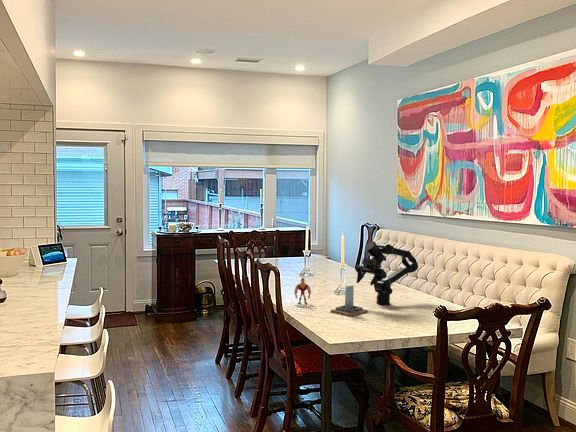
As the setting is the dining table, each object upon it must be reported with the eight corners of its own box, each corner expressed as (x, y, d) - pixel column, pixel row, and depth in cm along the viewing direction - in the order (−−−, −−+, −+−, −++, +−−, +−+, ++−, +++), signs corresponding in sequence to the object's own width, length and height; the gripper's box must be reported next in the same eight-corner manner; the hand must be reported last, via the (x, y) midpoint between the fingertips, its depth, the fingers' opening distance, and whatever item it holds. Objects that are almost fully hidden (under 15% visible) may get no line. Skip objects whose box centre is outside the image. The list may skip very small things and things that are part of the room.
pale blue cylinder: (354, 309, 305) (354, 285, 304) (352, 311, 301) (352, 286, 300) (345, 308, 306) (346, 284, 305) (344, 310, 302) (344, 286, 301)
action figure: (294, 304, 323) (294, 278, 322) (294, 302, 326) (294, 276, 326) (310, 304, 323) (311, 278, 322) (310, 303, 326) (311, 277, 325)
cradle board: (347, 308, 313) (347, 303, 313) (367, 312, 303) (367, 307, 303) (330, 312, 303) (330, 307, 303) (351, 316, 293) (351, 311, 293)
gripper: (356, 251, 321) (344, 272, 314) (384, 254, 308) (371, 276, 301) (365, 263, 327) (352, 285, 320) (392, 267, 314) (380, 289, 307)
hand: (363, 283), depth 312 cm, fingers open, 9 cm apart
